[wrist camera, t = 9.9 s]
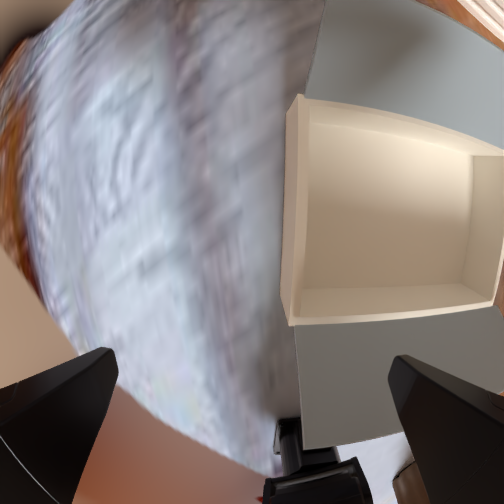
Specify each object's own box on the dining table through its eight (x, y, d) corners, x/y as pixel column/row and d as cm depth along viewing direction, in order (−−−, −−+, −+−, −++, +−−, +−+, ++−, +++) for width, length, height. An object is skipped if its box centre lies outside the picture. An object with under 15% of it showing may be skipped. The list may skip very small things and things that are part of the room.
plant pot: (465, 447, 30) (497, 498, 15) (400, 493, 33) (421, 547, 18) (448, 429, 27) (491, 497, 12) (366, 485, 30) (389, 557, 15)
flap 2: (497, 305, 16) (494, 308, 16) (294, 325, 15) (293, 328, 15) (526, 377, 10) (523, 380, 11) (305, 448, 10) (303, 449, 10)
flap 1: (304, 98, 12) (303, 93, 12) (516, 155, 13) (514, 151, 13) (333, -22, 5) (331, -25, 6) (568, 112, 6) (565, 107, 6)
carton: (460, 287, 21) (492, 307, 16) (279, 293, 21) (288, 326, 16) (474, 151, 18) (511, 150, 13) (285, 114, 18) (297, 93, 13)
